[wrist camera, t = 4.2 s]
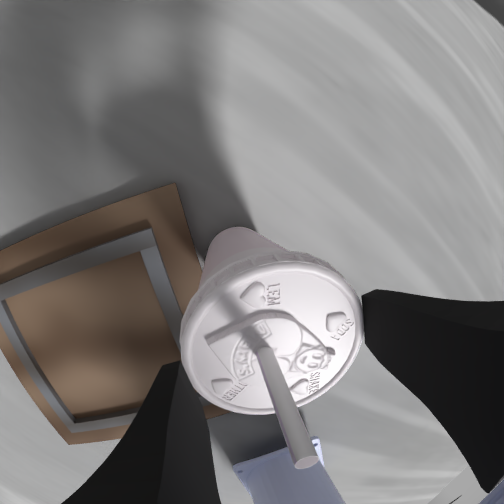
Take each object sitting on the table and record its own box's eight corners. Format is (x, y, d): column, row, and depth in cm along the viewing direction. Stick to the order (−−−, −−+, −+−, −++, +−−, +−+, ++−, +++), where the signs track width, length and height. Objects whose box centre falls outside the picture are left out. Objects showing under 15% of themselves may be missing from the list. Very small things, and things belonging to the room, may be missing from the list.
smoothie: (201, 190, 17) (228, 322, 4) (302, 221, 18) (484, 352, 5) (173, 290, 18) (162, 512, 5) (268, 311, 20) (360, 499, 7)
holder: (247, 399, 22) (252, 410, 21) (70, 438, 19) (67, 449, 18) (175, 182, 17) (175, 182, 16) (-30, 265, 14) (-40, 271, 13)
